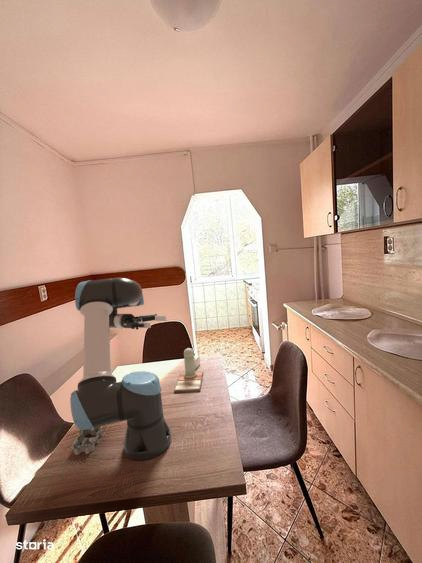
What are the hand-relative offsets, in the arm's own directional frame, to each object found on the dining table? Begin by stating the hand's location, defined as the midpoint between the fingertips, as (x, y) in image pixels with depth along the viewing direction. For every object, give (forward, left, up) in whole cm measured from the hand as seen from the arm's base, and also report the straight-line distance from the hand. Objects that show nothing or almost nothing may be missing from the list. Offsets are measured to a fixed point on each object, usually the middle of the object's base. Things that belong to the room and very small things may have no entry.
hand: (158, 321), depth 131 cm
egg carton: (-43, -21, -31) cm, 57 cm away
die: (+19, 0, -30) cm, 36 cm away
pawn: (+9, -11, -29) cm, 32 cm away
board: (+6, -14, -30) cm, 34 cm away
